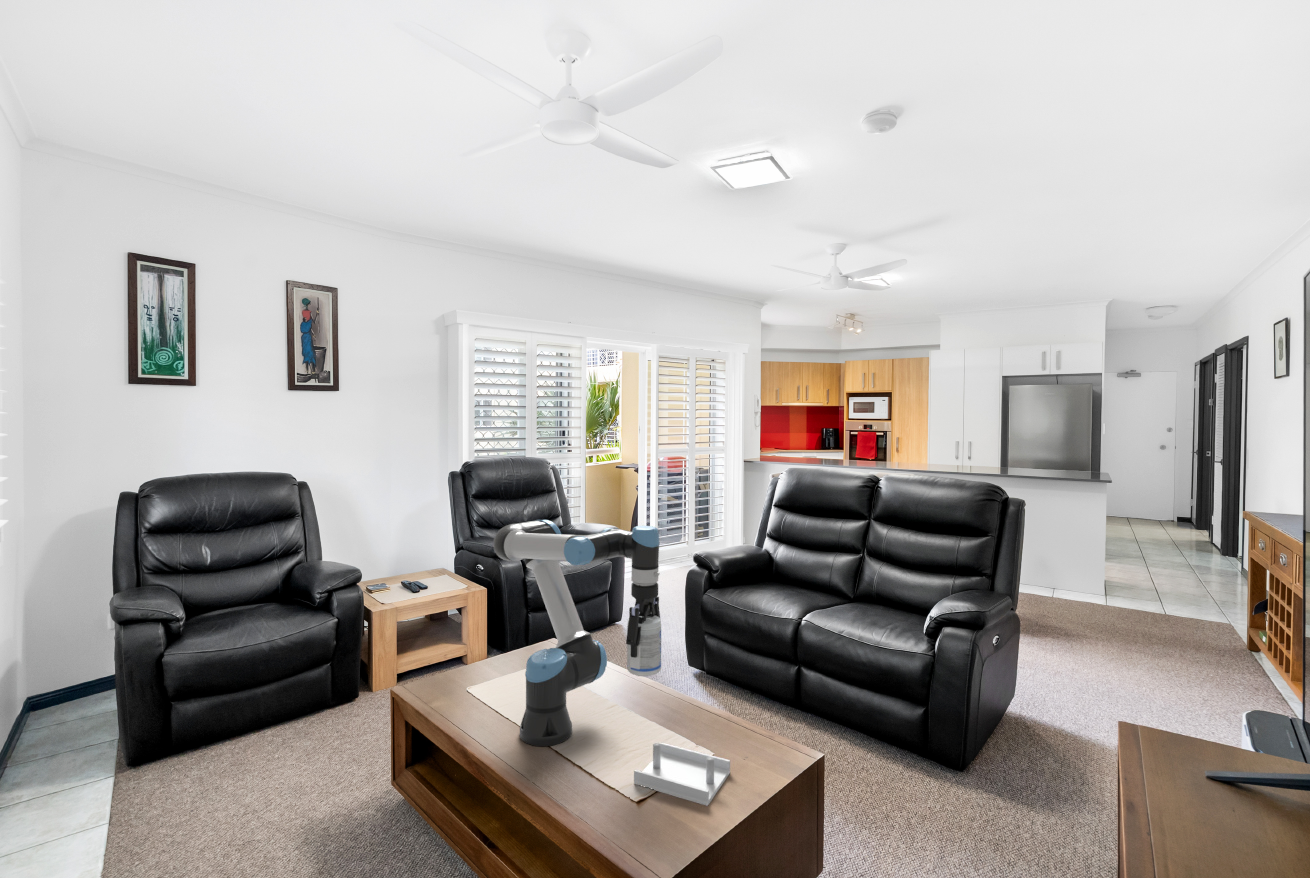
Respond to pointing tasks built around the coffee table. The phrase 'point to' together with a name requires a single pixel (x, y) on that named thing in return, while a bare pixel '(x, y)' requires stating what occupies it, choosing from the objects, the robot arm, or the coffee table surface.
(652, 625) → the supplement tub
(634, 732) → the coffee table surface
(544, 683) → the robot arm
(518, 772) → the coffee table surface
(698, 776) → the tray
